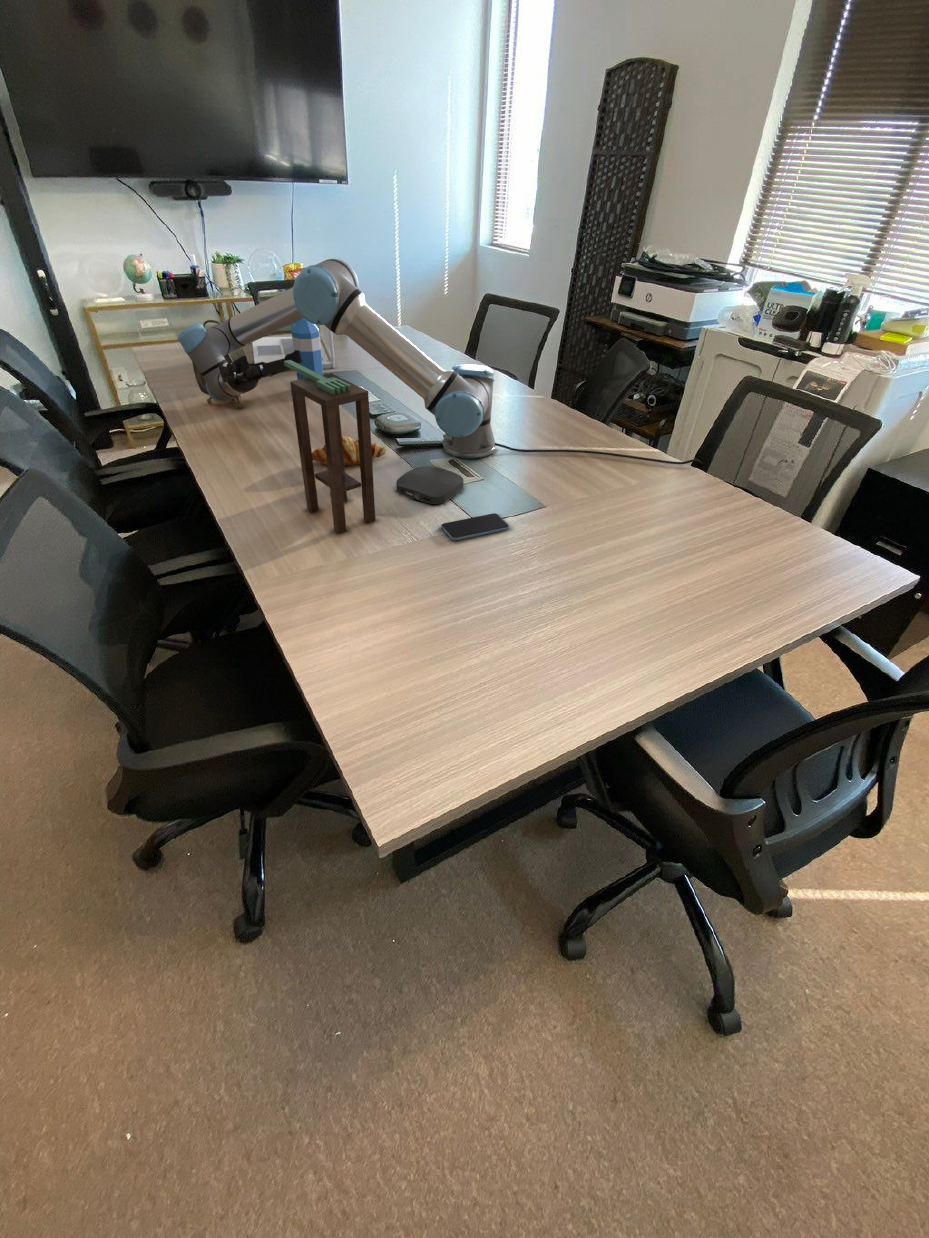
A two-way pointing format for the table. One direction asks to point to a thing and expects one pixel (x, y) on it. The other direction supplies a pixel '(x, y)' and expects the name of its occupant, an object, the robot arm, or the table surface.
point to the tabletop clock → (229, 358)
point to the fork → (320, 379)
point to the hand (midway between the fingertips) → (273, 359)
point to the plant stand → (334, 447)
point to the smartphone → (474, 526)
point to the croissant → (348, 452)
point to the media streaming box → (430, 484)
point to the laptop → (280, 346)
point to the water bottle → (307, 346)
